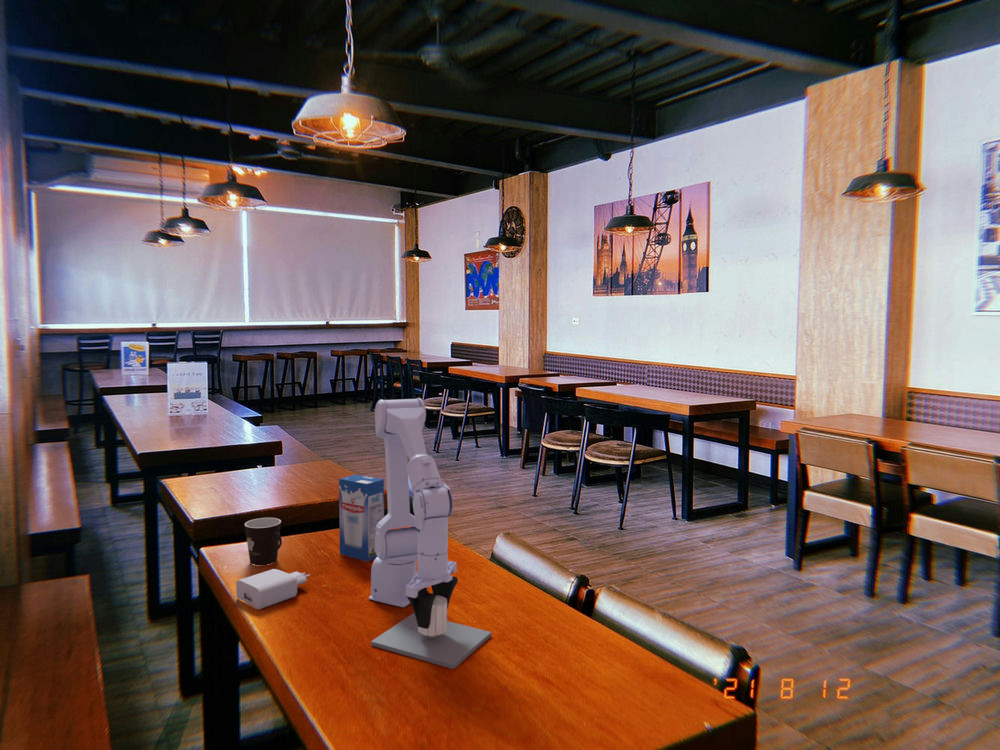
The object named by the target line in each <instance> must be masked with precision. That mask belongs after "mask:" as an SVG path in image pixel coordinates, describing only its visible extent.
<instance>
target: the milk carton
mask: <svg viewBox="0 0 1000 750" xmlns="http://www.w3.org/2000/svg"><path fill="white" fill-rule="evenodd" d="M338 493H339V494H338V496H339V497H338V501H339V502H338V507H339V508H338V509H339V513H338V514H339V519H338V520H339V523H338V524H339V526H338V527H339V555H341V554H343V555H342V556H344V555H346V556H345V557H348V556H349V558H352V557H353V559H356V558H357V559H356V560H359V559H360V561H363V560H364V562H370V561H372V559H373V560H375V559H376V558H377V555H376V551H375V535H376V525H377V523H378V522H379V521H380V520H381V519H383V518H384V517H385V480H384V479H383V478H378V477H371V476H367V475H362V474H352V475H349V476H344V477H342V478H341V477H340V478H339V479H338ZM374 558H375V559H374Z"/></svg>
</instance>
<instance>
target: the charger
mask: <svg viewBox="0 0 1000 750" xmlns="http://www.w3.org/2000/svg"><path fill="white" fill-rule="evenodd" d="M310 576H311V574H307V573H306V572H299V571H293V572H291V573H288V572H285V571H284V570H283V571H282V570H280V569H276V568H272V569H269V570H266V571H263V572H260V573H257V574H254V575H253V574H252V575H250V576H247V577H243V578H241V579H238V580H236V581H235V582H236V583H235V584H236V586H235V587H236V590H235V591H236V599H237V598H239V599H241V600H243V601H245V602H246V603H248V604H250V605H251V606H250V605H249V606H250V607H252V606H253V607H252V608H254V607H255V608H254V609H256V608H257V609H256V610H258V609H259V610H262V609H265V608H268V607H270V606H273V605H276V604H279V603H281V602H283V601H287V600H290V599H292V598H295V597H296V596H297V594H298V586H299V585H302V584H305V583H306V582H307V581H308V579H307V578H309V577H310ZM246 603H245V604H246ZM248 604H247V605H248ZM259 610H258V611H259Z"/></svg>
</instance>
